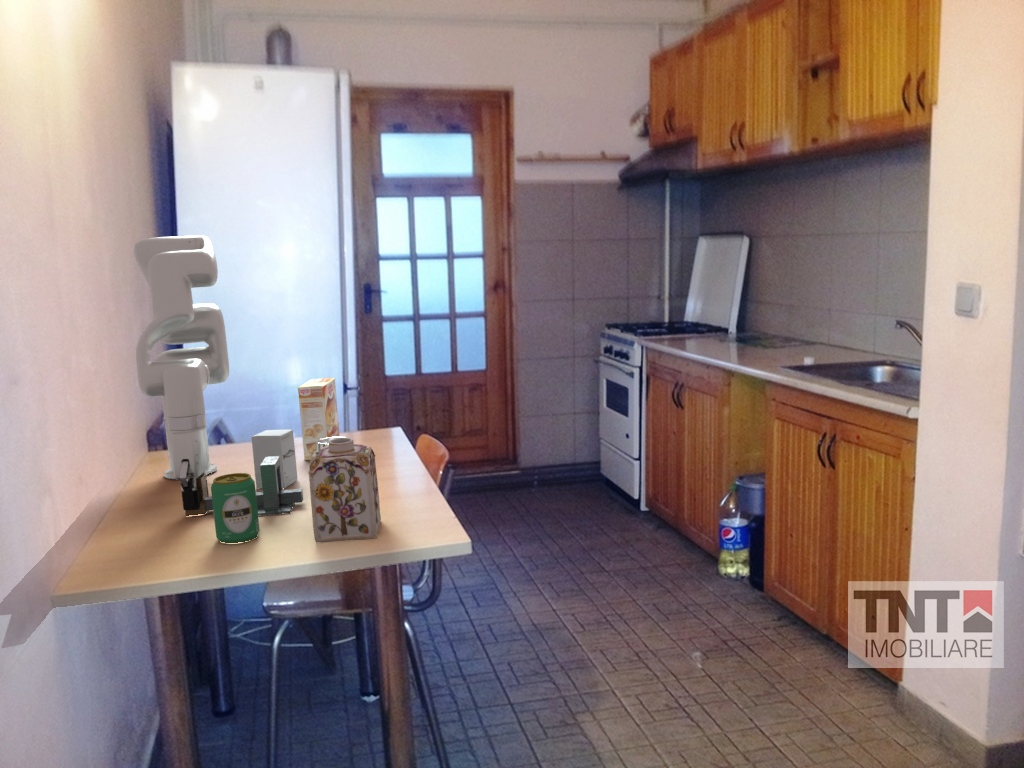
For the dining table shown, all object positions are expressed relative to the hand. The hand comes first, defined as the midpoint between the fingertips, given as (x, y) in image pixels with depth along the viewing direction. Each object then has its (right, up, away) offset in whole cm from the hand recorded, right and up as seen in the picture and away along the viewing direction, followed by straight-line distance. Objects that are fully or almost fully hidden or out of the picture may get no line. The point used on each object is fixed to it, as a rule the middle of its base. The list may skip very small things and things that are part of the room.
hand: (196, 503), depth 188 cm
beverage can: (+14, -4, -18) cm, 23 cm away
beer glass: (+31, -1, -3) cm, 31 cm away
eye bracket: (+16, -1, +2) cm, 16 cm away
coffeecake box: (+16, +6, +51) cm, 54 cm away
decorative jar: (+35, -3, -18) cm, 40 cm away
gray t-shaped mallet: (+10, -1, +1) cm, 10 cm away
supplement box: (+12, +1, +21) cm, 24 cm away
